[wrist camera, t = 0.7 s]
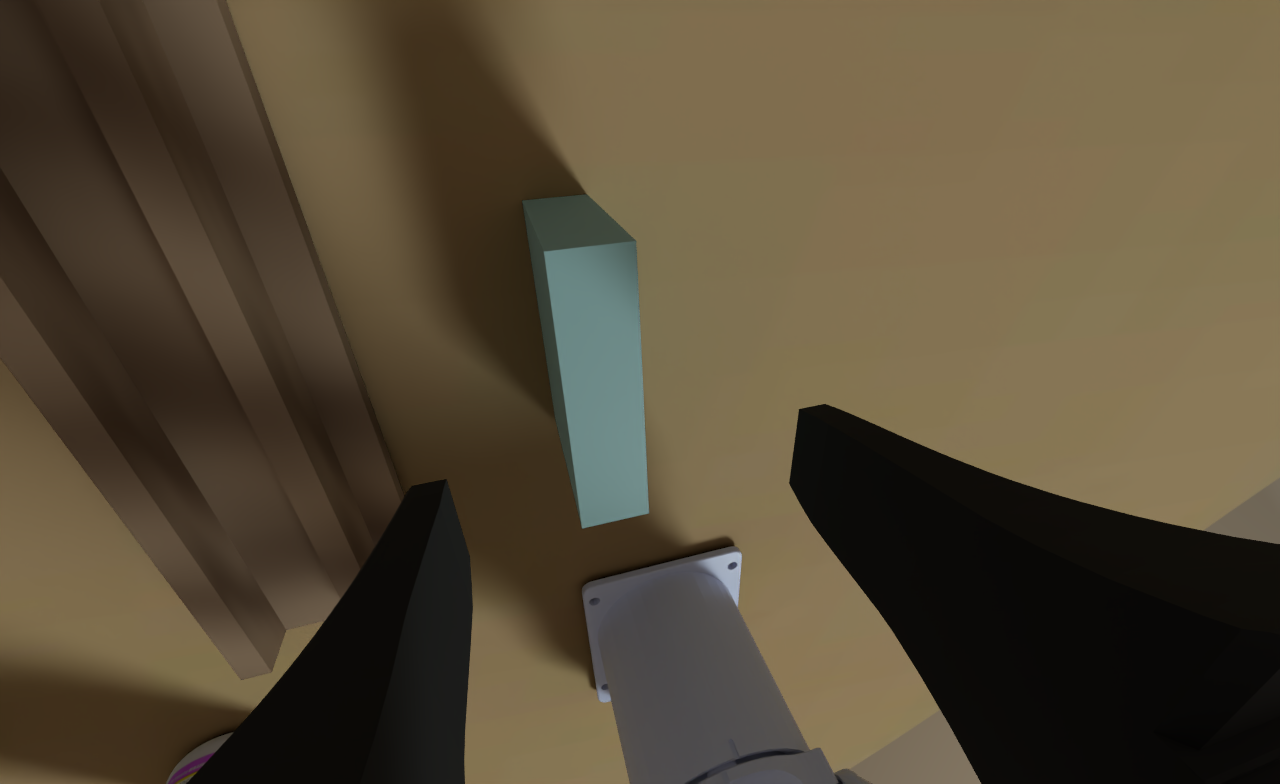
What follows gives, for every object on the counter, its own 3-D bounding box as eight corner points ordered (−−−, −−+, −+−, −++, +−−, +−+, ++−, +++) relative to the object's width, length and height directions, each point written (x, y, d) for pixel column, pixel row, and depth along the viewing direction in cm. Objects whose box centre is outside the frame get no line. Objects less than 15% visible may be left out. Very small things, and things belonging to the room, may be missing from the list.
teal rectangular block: (606, 409, 21) (648, 513, 16) (555, 418, 20) (581, 528, 15) (586, 193, 16) (635, 240, 11) (521, 200, 16) (544, 251, 11)
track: (435, 582, 22) (422, 757, 17) (223, 632, 21) (125, 847, 15) (201, -68, 12) (-78, -227, 6) (-283, -72, 10) (-1381, -303, 4)
